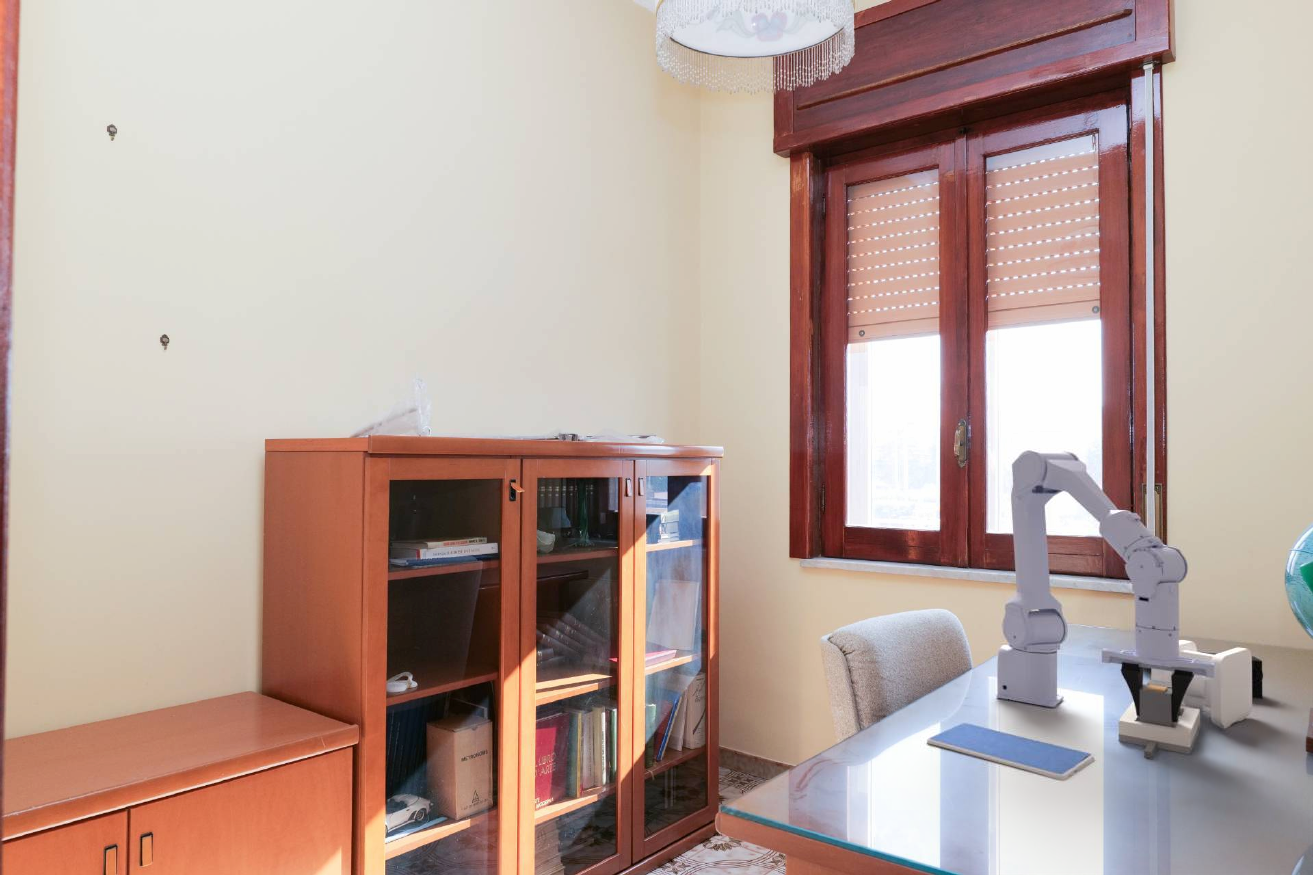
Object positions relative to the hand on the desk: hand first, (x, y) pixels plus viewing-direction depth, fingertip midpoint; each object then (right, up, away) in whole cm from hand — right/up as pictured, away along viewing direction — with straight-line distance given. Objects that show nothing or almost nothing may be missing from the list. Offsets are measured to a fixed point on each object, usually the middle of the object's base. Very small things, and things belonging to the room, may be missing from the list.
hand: (1156, 717), depth 124 cm
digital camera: (+30, -6, +29) cm, 42 cm away
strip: (+1, -3, +1) cm, 4 cm away
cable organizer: (+15, -5, +13) cm, 21 cm away
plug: (0, -2, 0) cm, 2 cm away
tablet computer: (-25, -3, -6) cm, 26 cm away
